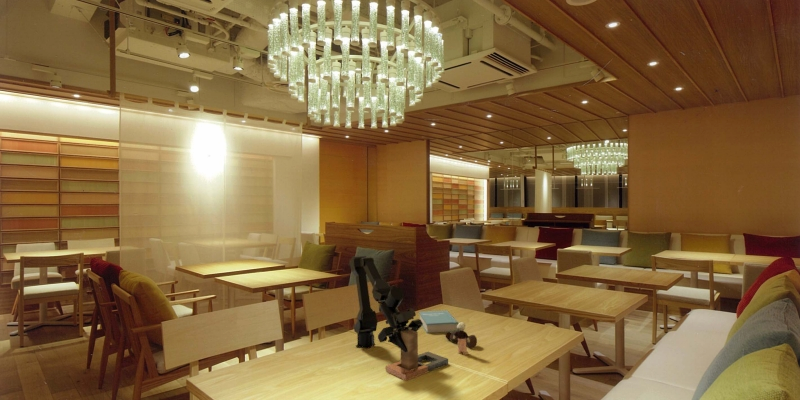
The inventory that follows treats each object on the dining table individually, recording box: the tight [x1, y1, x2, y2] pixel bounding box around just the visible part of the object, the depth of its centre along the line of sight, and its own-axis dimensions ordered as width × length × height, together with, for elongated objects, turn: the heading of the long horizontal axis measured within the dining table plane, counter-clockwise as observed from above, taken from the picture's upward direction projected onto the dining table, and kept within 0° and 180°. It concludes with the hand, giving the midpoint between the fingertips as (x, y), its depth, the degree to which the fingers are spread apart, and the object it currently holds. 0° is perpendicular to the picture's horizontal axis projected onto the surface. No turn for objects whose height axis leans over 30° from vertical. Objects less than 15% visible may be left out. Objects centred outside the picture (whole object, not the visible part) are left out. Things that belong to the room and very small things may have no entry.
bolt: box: [445, 332, 478, 349], centre depth 182 cm, size 6×5×15 cm
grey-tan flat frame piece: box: [385, 351, 449, 381], centre depth 155 cm, size 22×11×2 cm, turn 131°
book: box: [418, 310, 460, 334], centre depth 209 cm, size 23×16×5 cm
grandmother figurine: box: [453, 321, 470, 356], centre depth 169 cm, size 8×4×13 cm, turn 65°
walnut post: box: [400, 329, 419, 370], centre depth 152 cm, size 4×4×13 cm
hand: (411, 350), depth 151 cm, fingers closed on walnut post, 4 cm apart
